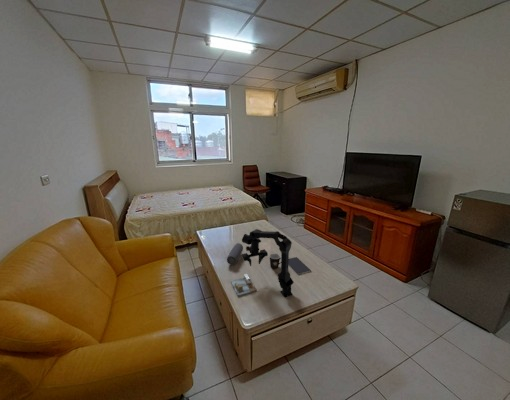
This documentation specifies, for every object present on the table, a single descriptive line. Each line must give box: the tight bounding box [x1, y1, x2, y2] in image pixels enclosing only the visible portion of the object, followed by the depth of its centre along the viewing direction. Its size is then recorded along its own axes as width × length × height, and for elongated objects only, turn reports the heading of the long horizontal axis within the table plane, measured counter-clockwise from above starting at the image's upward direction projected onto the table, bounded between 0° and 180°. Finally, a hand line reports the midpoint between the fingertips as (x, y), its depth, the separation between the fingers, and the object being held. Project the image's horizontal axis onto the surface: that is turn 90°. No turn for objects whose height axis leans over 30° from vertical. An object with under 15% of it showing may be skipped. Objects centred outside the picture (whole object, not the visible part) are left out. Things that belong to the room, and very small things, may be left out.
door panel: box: [230, 277, 258, 298], centre depth 154 cm, size 16×14×4 cm
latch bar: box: [243, 273, 252, 285], centre depth 158 cm, size 10×3×3 cm, turn 23°
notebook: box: [288, 256, 312, 276], centre depth 179 cm, size 13×2×21 cm
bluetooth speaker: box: [226, 242, 244, 266], centre depth 188 cm, size 23×9×10 cm, turn 168°
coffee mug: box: [268, 253, 281, 270], centre depth 176 cm, size 12×9×10 cm
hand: (254, 264), depth 162 cm, fingers open, 7 cm apart
